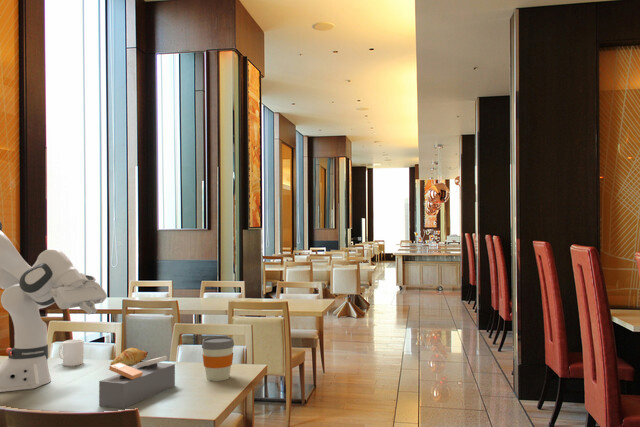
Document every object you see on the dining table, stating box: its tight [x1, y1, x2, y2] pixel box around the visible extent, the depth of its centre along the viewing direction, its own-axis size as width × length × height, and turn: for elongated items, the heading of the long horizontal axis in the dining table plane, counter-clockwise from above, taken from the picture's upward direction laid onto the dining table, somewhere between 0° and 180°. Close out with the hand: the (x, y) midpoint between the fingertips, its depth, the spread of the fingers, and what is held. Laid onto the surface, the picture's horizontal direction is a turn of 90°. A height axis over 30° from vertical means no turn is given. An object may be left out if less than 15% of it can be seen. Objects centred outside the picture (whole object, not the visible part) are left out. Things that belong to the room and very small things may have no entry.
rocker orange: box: [108, 363, 143, 380], centre depth 181 cm, size 10×5×2 cm, turn 70°
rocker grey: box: [135, 355, 168, 368], centre depth 194 cm, size 10×5×2 cm, turn 71°
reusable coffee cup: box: [201, 336, 235, 382], centre depth 210 cm, size 13×13×15 cm
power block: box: [98, 362, 176, 409], centre depth 188 cm, size 10×28×9 cm, turn 160°
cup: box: [58, 338, 85, 367], centre depth 236 cm, size 8×12×10 cm
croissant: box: [110, 347, 149, 366], centre depth 236 cm, size 21×10×8 cm, turn 156°
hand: (92, 312), depth 187 cm, fingers closed
